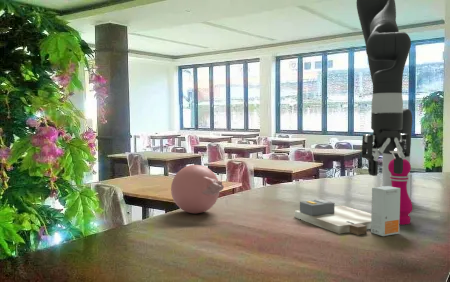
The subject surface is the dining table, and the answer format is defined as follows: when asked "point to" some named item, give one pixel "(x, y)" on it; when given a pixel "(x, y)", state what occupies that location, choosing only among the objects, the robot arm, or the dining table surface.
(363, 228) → the board
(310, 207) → the block
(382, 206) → the skincare box
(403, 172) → the pepper mill
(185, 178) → the balloon
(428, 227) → the dining table surface
